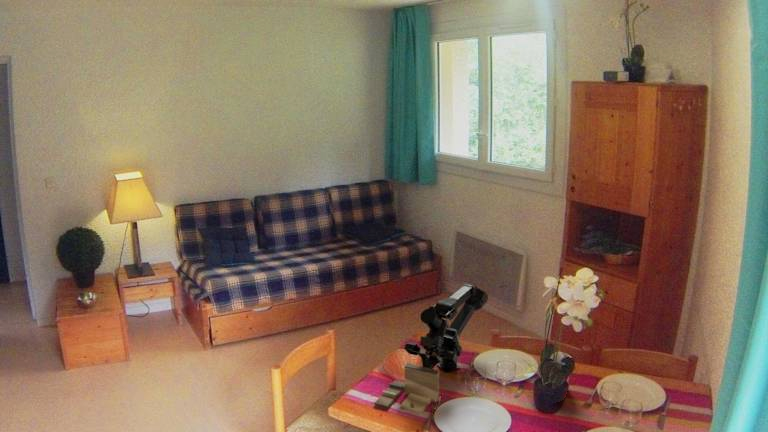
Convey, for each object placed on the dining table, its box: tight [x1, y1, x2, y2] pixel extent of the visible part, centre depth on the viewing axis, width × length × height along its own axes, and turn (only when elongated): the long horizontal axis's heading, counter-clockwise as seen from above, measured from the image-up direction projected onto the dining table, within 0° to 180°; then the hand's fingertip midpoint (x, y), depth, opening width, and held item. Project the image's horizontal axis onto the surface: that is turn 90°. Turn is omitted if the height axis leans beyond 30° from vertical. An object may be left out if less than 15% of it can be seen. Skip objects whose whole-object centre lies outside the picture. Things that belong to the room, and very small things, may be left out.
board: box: [374, 380, 405, 410], centre depth 213 cm, size 16×5×2 cm, turn 153°
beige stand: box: [399, 363, 440, 414], centre depth 207 cm, size 10×12×11 cm
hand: (424, 376), depth 212 cm, fingers closed
